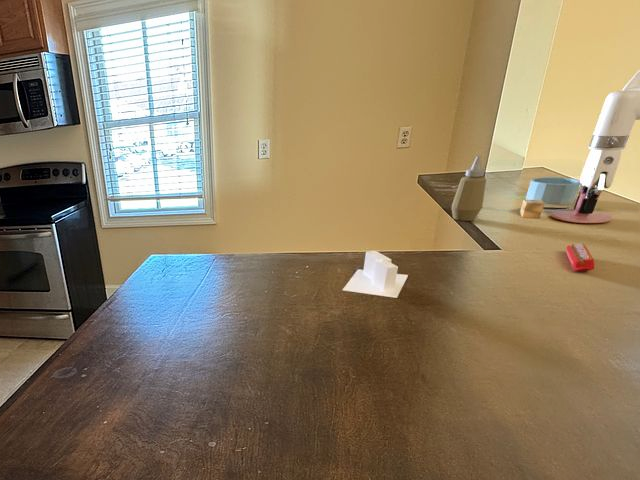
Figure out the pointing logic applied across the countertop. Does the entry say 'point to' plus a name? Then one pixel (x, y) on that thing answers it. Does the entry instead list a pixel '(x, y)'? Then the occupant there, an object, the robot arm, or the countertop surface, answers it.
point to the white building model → (377, 277)
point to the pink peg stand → (576, 217)
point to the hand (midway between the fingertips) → (582, 210)
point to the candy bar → (579, 257)
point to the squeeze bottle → (470, 193)
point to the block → (531, 208)
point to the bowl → (553, 190)
